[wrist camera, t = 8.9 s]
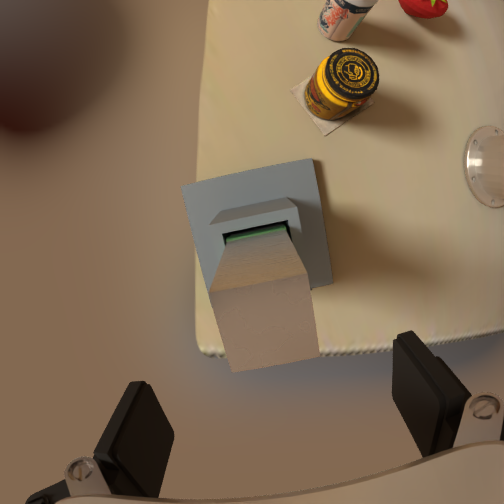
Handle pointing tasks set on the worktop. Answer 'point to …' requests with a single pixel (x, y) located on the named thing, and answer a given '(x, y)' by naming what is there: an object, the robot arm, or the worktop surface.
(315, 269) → the sleeve
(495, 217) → the worktop surface
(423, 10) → the strawberry
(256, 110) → the worktop surface
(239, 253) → the block
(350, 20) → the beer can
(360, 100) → the condiment
